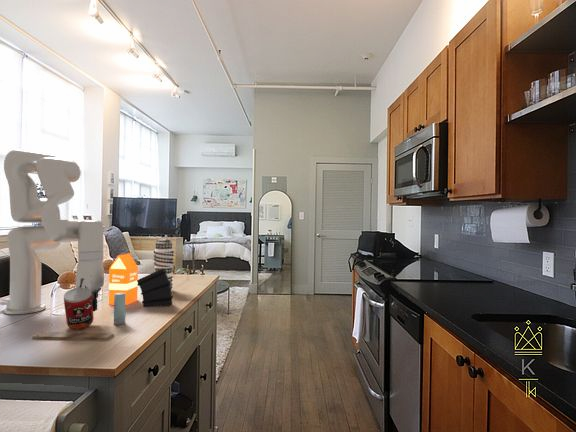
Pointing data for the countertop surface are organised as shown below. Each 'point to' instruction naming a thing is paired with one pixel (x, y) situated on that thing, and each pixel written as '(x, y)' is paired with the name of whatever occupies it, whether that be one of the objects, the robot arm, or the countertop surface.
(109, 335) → the batten
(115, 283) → the orange juice
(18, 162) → the robot arm
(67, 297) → the canned food
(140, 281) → the black layered block
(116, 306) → the peg
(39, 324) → the countertop surface
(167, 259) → the decorative candle
